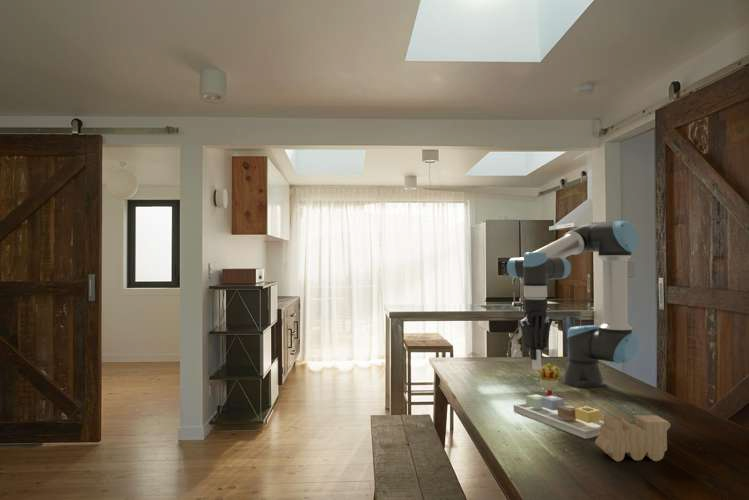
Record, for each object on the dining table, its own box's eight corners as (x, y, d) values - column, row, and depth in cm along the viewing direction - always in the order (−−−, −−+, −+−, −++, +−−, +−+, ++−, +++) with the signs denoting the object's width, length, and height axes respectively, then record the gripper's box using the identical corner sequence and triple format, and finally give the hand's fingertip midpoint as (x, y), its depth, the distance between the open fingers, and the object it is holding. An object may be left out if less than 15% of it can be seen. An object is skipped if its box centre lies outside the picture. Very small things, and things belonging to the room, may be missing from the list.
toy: (561, 405, 181) (561, 361, 182) (540, 404, 183) (539, 361, 183) (558, 399, 188) (558, 357, 189) (537, 398, 190) (537, 357, 190)
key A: (587, 416, 158) (586, 405, 158) (600, 420, 154) (599, 409, 154) (575, 418, 156) (575, 407, 156) (588, 423, 152) (588, 412, 152)
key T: (569, 414, 164) (569, 403, 164) (581, 418, 160) (581, 407, 160) (557, 416, 162) (557, 405, 162) (569, 420, 158) (569, 410, 158)
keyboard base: (540, 406, 180) (540, 400, 180) (614, 432, 154) (614, 425, 154) (513, 410, 175) (513, 404, 175) (585, 438, 148) (585, 431, 148)
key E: (537, 402, 177) (537, 393, 177) (547, 406, 173) (547, 396, 173) (526, 404, 175) (526, 395, 175) (536, 408, 171) (536, 398, 171)
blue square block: (552, 404, 171) (552, 394, 171) (563, 408, 166) (563, 398, 166) (541, 406, 169) (541, 396, 169) (552, 410, 164) (552, 400, 164)
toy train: (595, 453, 137) (594, 415, 138) (658, 452, 138) (658, 414, 138) (604, 462, 132) (604, 422, 132) (671, 460, 132) (670, 421, 132)
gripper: (542, 296, 180) (543, 365, 180) (512, 298, 175) (513, 369, 174) (558, 298, 174) (559, 369, 173) (528, 300, 168) (529, 373, 168)
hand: (536, 369), depth 174 cm, fingers closed
